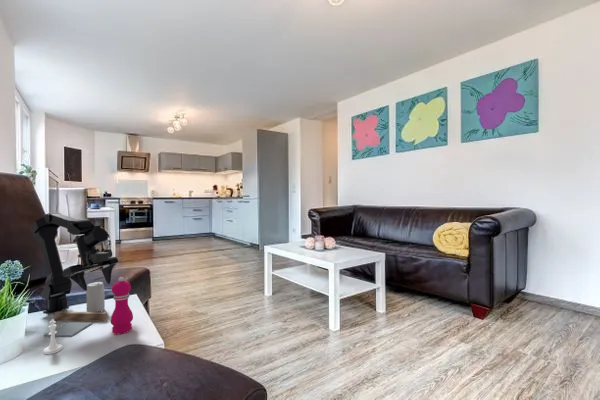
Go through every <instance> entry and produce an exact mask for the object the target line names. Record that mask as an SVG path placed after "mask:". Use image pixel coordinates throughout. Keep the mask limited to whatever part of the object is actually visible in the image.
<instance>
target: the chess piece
mask: <svg viewBox="0 0 600 400" xmlns="http://www.w3.org/2000/svg"><path fill="white" fill-rule="evenodd" d="M56 323H57V322H56V321H55V318H54V319H50V321H48V324H50V325H48V329H49V332H50V331H51V332H50V333H49V335H51V336H50V340H49V341H50V342H49V345H48V346H47V347H45V348H44V349H43V352H42V354H44V355H52V354H55V353H57V352H60V351H62V350H63V348H64V347H63V345H62V344H60V343H57V341H56V336H55V334H56V333H57V331H55V329H56V328H57V324H56Z"/></svg>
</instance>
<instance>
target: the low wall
mask: <svg viewBox="0 0 600 400" xmlns="http://www.w3.org/2000/svg"><path fill="white" fill-rule="evenodd" d="M106 319H108V312H107V311H102V312H87V311H58V312H56V313H54V321H61V322H62V321H63V322H64V321H65V322H66V321H67V322H68V321H69V322H71V321H72V322H105V321H107V320H106ZM104 320H105V321H104Z"/></svg>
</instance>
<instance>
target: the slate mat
mask: <svg viewBox="0 0 600 400" xmlns="http://www.w3.org/2000/svg"><path fill="white" fill-rule="evenodd" d="M92 324H93V322H68V321H67V322H65V323H63V324H61V325H59V326H58V327H57V326H56V329H55V331H57V333H56V334H55V337H68V338H69V337H70V338H71V337H74V336H75V335H76V334H78V333H80V332H82V331H83V330H85V329H86V328H88V327H90V326H91V325H92ZM50 332H51V331H50V330H49V331H48V332H46V333H44V335H43V337H51V335H49V333H50Z"/></svg>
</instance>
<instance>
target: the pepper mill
mask: <svg viewBox="0 0 600 400" xmlns="http://www.w3.org/2000/svg"><path fill="white" fill-rule="evenodd" d="M117 280H118V281H116V282H114V284H113V285H112V286H111V293H112V294H113V300H114V301H115V304H114V309H113V312H112V314H111V317H110V325H112V327H111V333H112V334H113V335H124V334H126V333H128V332H130V331H131V330H132V327H133V325H132V321H133V320H134V314H133V312H132V310H131V308H130V306H129V301H128V300H129V298H130V291H131V283H130V282H129V281H128V280H125V278H124V277H123V276H120V277H119V278H118V279H117Z"/></svg>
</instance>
